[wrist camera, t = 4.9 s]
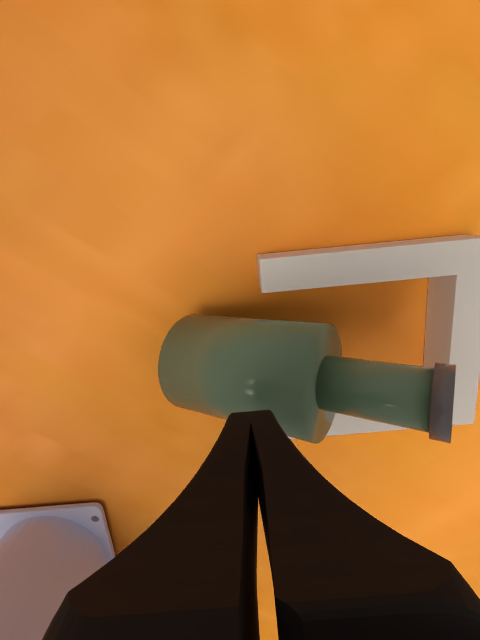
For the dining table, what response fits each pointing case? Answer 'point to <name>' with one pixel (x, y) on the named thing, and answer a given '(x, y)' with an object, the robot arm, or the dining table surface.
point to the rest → (391, 265)
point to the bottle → (297, 377)
